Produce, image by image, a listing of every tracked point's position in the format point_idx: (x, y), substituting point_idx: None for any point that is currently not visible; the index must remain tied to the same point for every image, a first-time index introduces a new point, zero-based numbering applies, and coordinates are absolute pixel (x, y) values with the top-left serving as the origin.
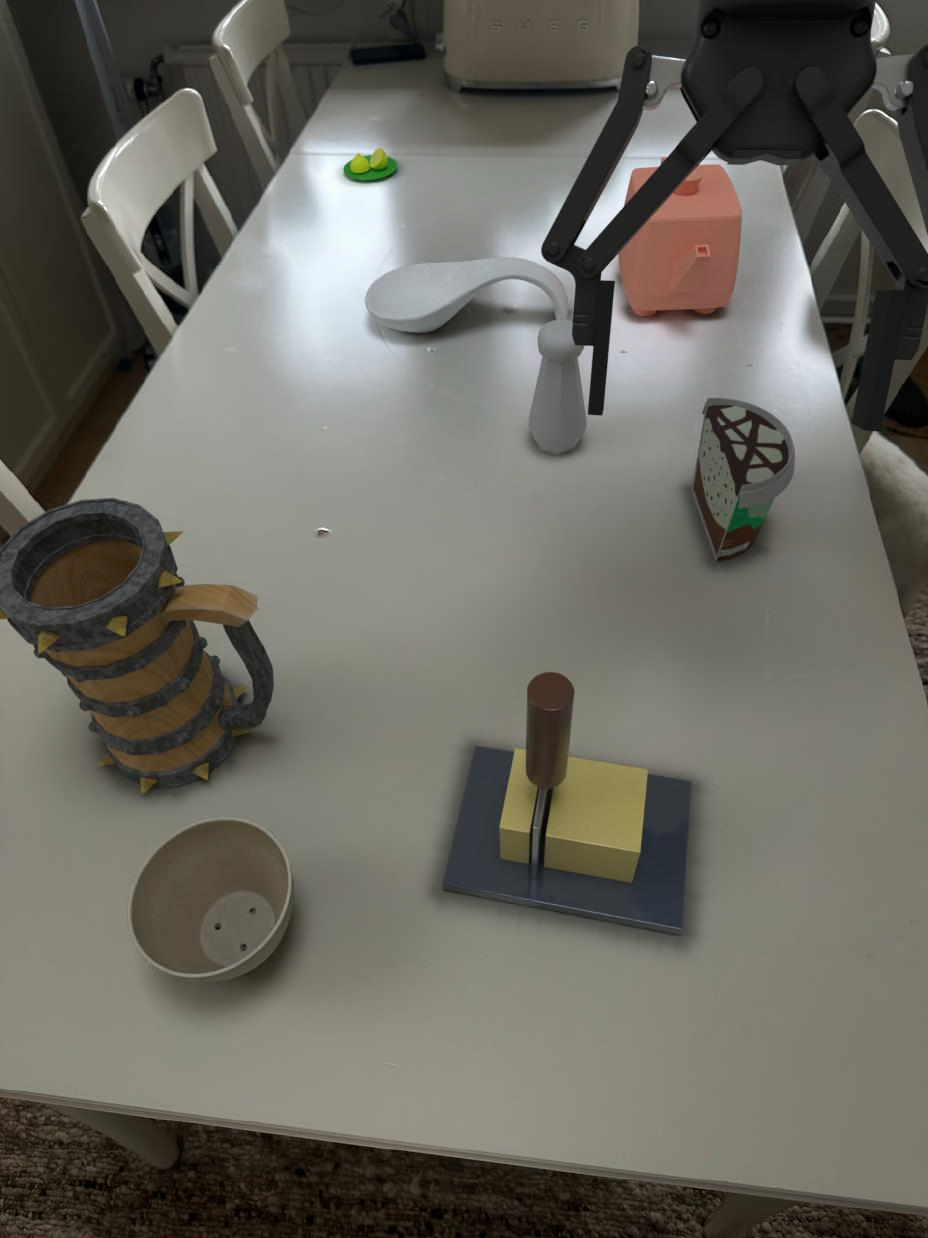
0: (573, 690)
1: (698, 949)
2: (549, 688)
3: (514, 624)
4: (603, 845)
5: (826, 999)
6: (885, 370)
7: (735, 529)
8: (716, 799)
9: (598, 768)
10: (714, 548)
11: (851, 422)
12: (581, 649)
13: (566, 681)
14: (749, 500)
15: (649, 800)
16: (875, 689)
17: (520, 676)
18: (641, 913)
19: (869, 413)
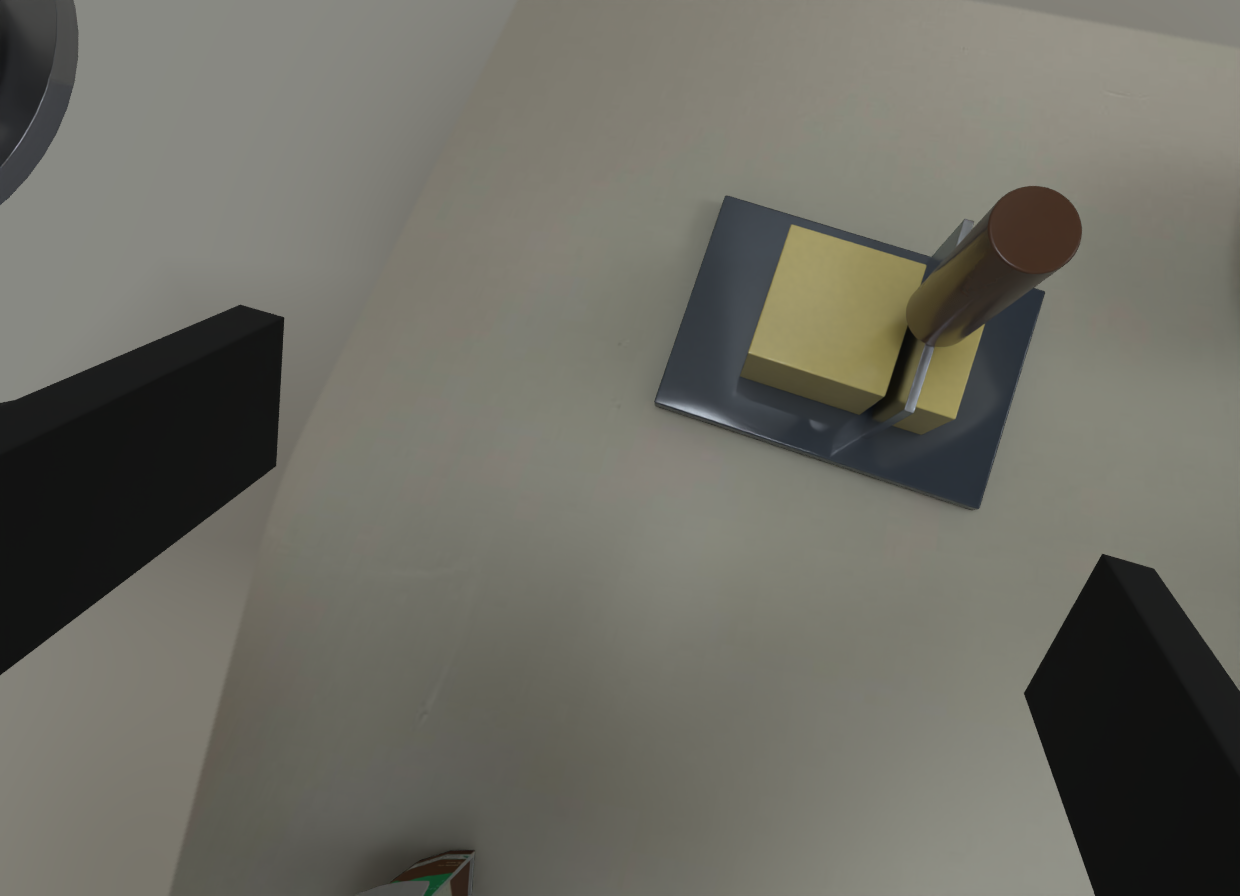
0: (990, 223)
1: (706, 184)
2: (1036, 235)
3: (876, 765)
4: (842, 241)
5: (571, 113)
6: (132, 363)
7: (434, 875)
8: (620, 382)
9: (825, 364)
10: (468, 881)
11: (274, 466)
12: (765, 687)
13: (1001, 245)
14: (403, 890)
15: (723, 379)
16: (320, 531)
17: (880, 647)
18: (774, 221)
19: (249, 329)
